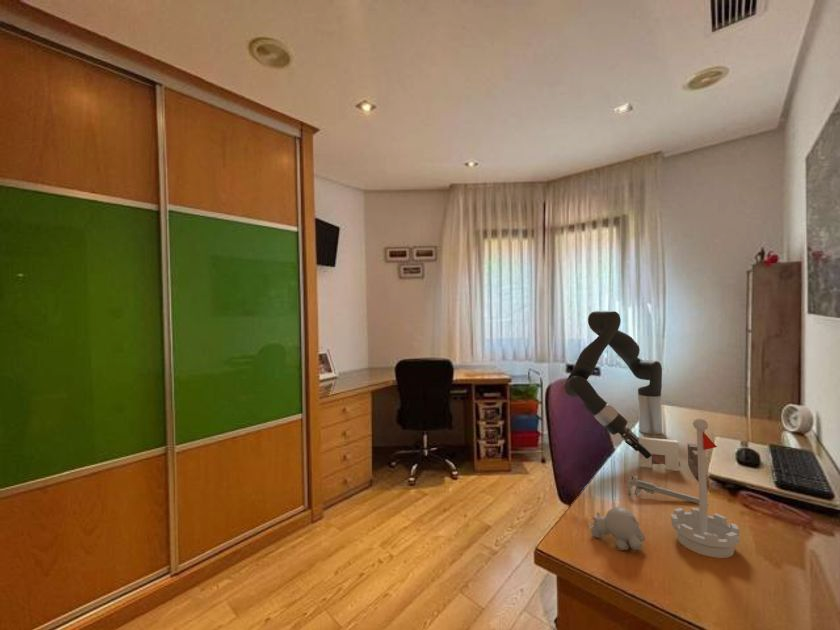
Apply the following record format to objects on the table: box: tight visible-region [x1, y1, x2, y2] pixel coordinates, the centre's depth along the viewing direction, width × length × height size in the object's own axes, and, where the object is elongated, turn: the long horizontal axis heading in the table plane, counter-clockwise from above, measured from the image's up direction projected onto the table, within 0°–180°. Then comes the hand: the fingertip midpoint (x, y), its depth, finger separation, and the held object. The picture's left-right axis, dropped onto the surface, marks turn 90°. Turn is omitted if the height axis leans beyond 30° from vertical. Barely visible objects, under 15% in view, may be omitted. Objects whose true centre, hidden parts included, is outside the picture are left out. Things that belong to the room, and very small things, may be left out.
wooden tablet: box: [651, 454, 681, 467], centre depth 150 cm, size 27×10×2 cm, turn 153°
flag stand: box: [670, 417, 740, 559], centre depth 91 cm, size 13×13×30 cm
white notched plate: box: [637, 436, 680, 472], centre depth 136 cm, size 2×12×10 cm, turn 64°
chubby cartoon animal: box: [588, 506, 646, 551], centre depth 93 cm, size 7×12×8 cm, turn 46°
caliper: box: [627, 474, 709, 506], centre depth 113 cm, size 20×1×6 cm, turn 69°
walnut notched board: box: [687, 442, 699, 480], centre depth 131 cm, size 12×2×8 cm, turn 154°
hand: (648, 455), depth 137 cm, fingers closed on white notched plate, 2 cm apart
